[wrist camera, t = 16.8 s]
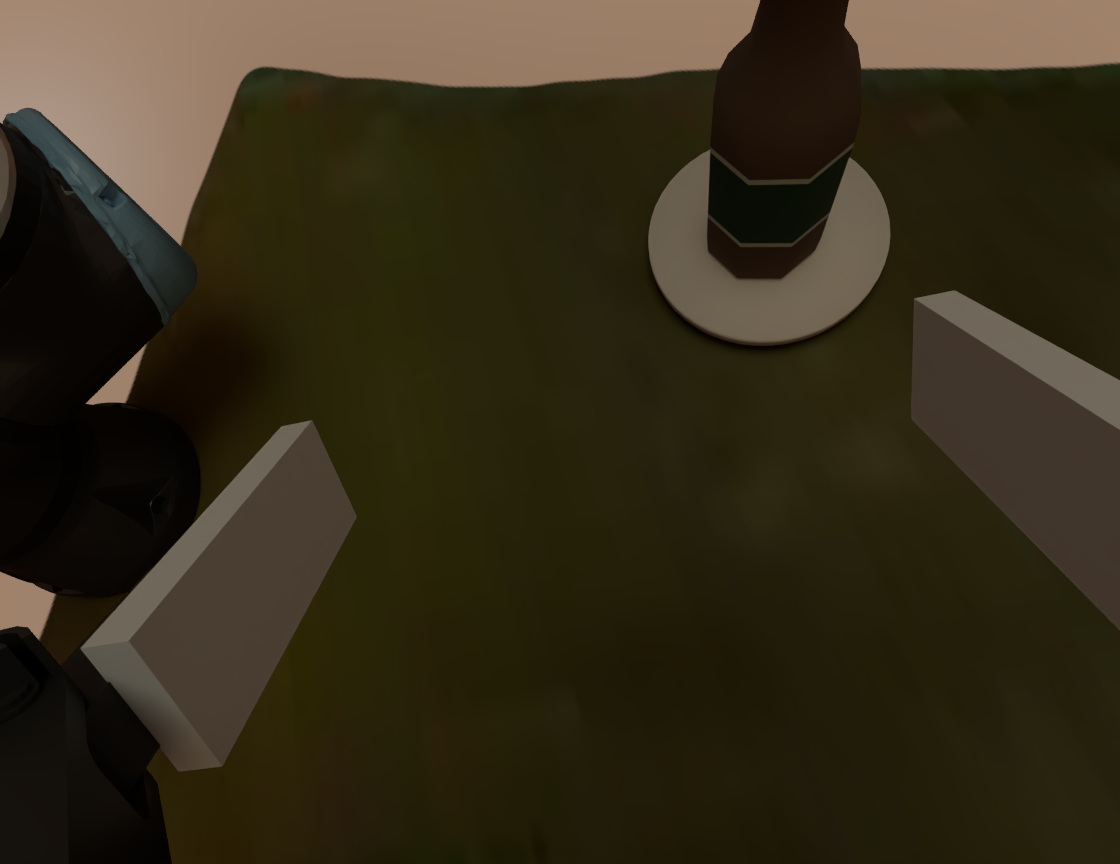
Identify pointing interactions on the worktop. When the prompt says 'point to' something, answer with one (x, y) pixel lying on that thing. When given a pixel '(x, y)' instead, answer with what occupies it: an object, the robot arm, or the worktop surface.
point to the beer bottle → (781, 136)
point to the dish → (767, 304)
